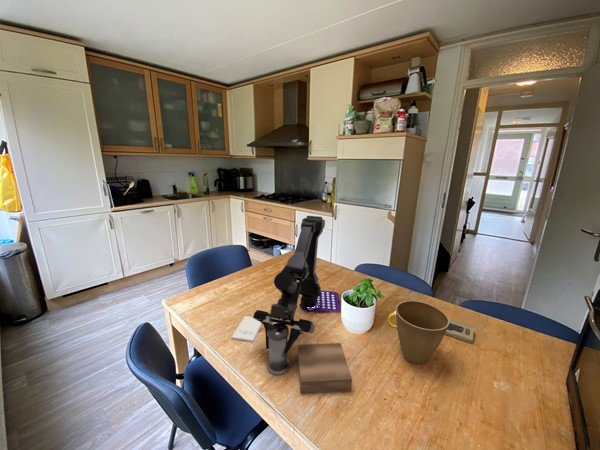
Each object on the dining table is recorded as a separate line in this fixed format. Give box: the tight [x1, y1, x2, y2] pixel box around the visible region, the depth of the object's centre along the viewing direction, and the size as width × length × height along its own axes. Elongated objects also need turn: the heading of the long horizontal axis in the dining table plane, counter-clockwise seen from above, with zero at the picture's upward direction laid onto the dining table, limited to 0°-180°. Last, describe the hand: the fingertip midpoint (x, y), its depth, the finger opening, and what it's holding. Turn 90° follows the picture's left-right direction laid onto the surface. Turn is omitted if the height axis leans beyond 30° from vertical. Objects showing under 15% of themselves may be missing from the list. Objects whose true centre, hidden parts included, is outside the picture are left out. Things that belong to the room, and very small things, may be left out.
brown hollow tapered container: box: [395, 300, 450, 366], centre depth 80 cm, size 15×15×16 cm
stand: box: [297, 342, 353, 395], centre depth 76 cm, size 14×14×4 cm
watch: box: [387, 310, 397, 328], centre depth 96 cm, size 6×3×6 cm, turn 69°
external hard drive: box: [230, 315, 263, 343], centre depth 94 cm, size 2×8×12 cm
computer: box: [444, 318, 475, 345], centre depth 95 cm, size 16×8×3 cm, turn 54°
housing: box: [266, 322, 290, 376], centre depth 76 cm, size 7×7×13 cm
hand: (276, 351), depth 75 cm, fingers closed on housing, 6 cm apart
